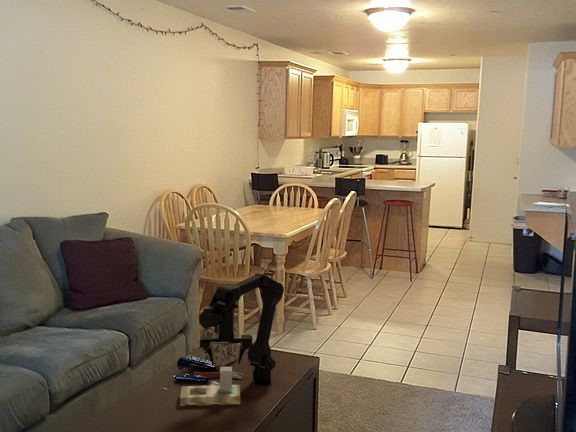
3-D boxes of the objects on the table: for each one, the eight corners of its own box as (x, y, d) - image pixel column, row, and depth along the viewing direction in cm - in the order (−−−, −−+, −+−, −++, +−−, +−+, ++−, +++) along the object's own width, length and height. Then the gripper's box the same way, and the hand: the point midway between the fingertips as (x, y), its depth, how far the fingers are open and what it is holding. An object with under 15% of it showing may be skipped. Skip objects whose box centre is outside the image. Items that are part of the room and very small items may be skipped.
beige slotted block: (239, 392, 227) (239, 384, 227) (240, 404, 217) (240, 395, 217) (182, 394, 225) (182, 385, 225) (180, 406, 215) (180, 397, 215)
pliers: (239, 385, 235) (239, 378, 235) (191, 378, 241) (191, 371, 241) (250, 374, 246) (250, 368, 246) (204, 368, 252) (204, 362, 252)
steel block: (231, 387, 224) (231, 366, 223) (231, 392, 220) (231, 370, 219) (220, 387, 223) (220, 366, 222) (220, 392, 219) (220, 371, 218)
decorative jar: (238, 359, 261) (238, 318, 259) (221, 368, 251) (221, 325, 249) (216, 354, 267) (216, 313, 265) (199, 362, 257) (198, 320, 255)
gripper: (251, 315, 227) (251, 355, 229) (200, 315, 225) (200, 356, 227) (252, 324, 216) (252, 366, 218) (199, 325, 214) (199, 368, 216)
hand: (226, 364), depth 220 cm, fingers open, 9 cm apart
